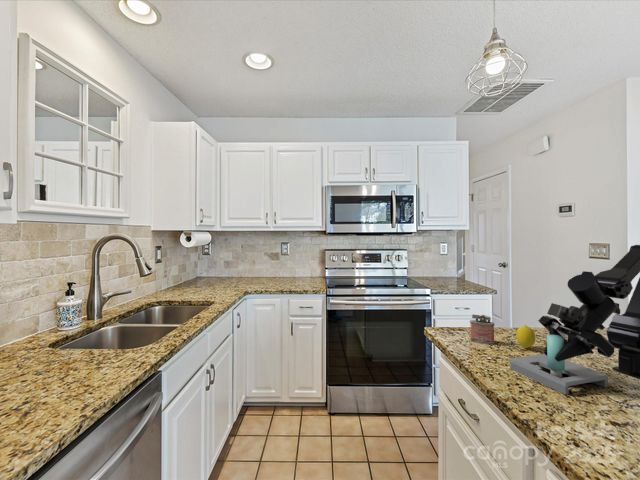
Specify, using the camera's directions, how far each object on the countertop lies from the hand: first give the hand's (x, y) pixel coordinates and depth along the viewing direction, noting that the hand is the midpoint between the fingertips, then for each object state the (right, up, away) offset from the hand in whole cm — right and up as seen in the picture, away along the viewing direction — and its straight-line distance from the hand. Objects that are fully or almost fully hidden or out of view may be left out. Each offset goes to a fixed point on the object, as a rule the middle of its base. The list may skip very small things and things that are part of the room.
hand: (550, 357), depth 82 cm
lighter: (-1, -7, +33) cm, 34 cm away
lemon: (+10, -7, +26) cm, 28 cm away
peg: (+1, -7, 0) cm, 7 cm away
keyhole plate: (+4, -7, +3) cm, 8 cm away
